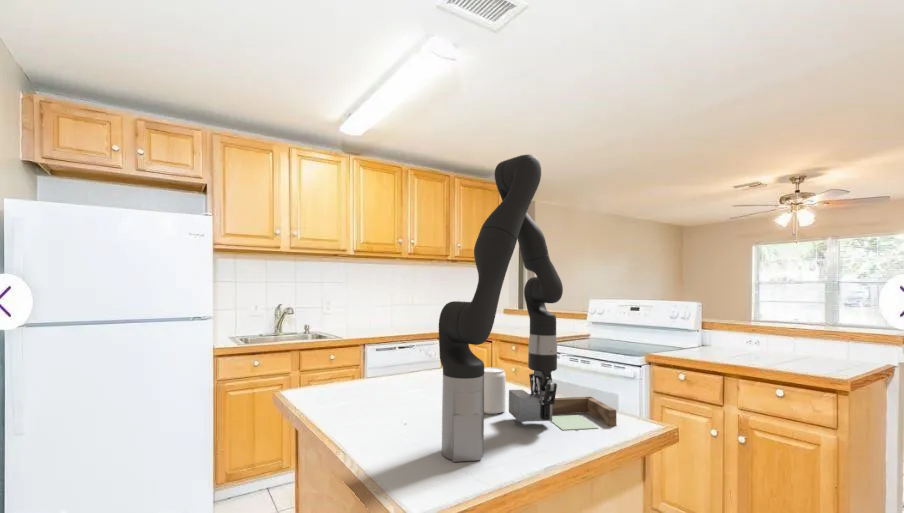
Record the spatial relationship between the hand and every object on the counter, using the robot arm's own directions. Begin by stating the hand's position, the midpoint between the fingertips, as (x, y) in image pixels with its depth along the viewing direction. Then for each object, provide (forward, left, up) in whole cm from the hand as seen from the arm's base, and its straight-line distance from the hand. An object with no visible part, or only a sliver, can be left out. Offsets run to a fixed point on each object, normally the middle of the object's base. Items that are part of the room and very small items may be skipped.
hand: (542, 416), depth 117 cm
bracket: (+3, +2, 0) cm, 4 cm away
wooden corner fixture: (+3, -11, -2) cm, 11 cm away
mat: (+1, -9, -2) cm, 9 cm away
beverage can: (+14, +10, -3) cm, 18 cm away
